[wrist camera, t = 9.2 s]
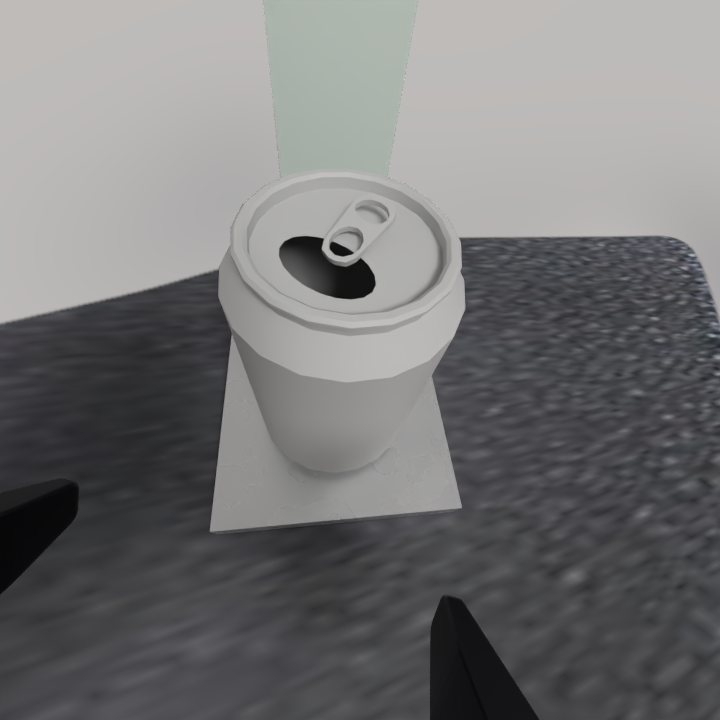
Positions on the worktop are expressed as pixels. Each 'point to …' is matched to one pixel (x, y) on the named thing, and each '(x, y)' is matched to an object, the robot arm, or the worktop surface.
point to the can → (340, 309)
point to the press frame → (337, 80)
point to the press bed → (324, 489)
